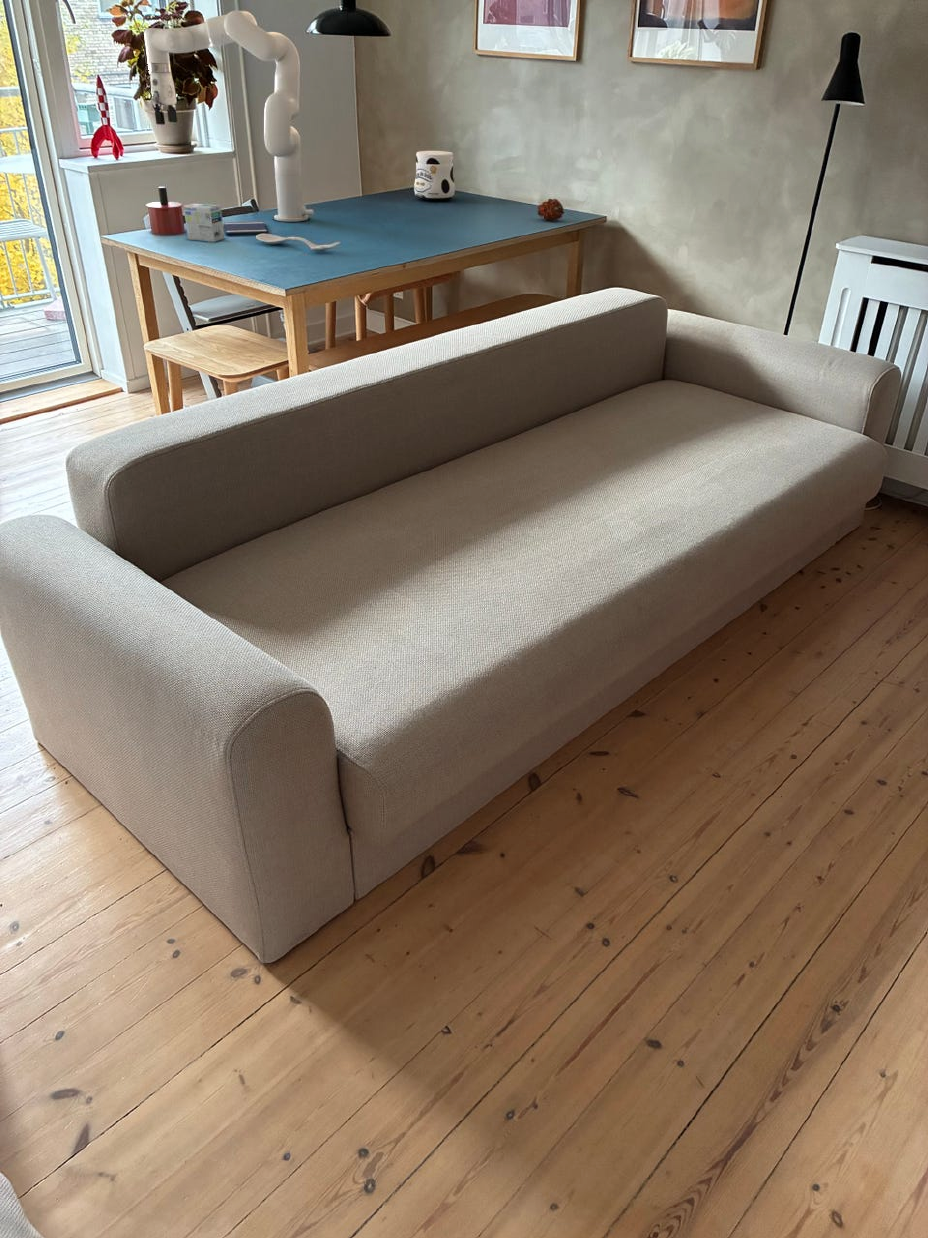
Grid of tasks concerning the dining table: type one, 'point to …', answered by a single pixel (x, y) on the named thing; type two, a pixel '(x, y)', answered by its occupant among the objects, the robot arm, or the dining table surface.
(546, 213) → the red-brown bumpy ovoid
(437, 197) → the milk container
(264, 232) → the blue-grey flat slab
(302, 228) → the dining table surface
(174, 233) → the pot
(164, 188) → the pot lid
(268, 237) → the spoon
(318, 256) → the dining table surface
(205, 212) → the light bulb box
